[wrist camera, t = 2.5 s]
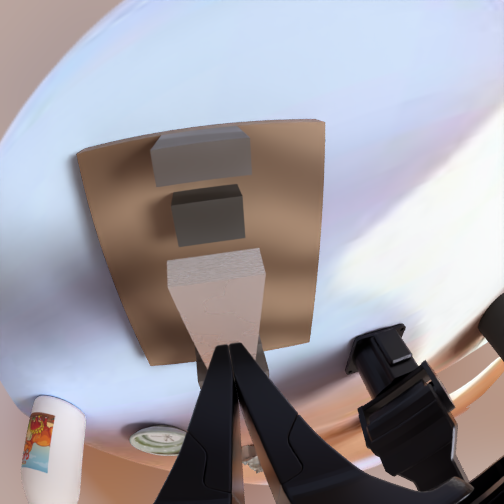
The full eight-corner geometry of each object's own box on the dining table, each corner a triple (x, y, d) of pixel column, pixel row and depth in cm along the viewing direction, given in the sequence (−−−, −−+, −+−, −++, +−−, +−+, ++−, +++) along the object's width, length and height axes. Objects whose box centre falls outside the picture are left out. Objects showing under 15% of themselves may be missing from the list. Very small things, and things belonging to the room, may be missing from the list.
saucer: (118, 418, 30) (117, 434, 28) (188, 414, 31) (190, 430, 29) (145, 444, 36) (145, 457, 34) (205, 440, 37) (207, 454, 35)
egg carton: (250, 455, 44) (254, 474, 40) (232, 446, 40) (236, 467, 36) (306, 438, 43) (312, 457, 40) (295, 427, 39) (301, 449, 36)
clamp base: (304, 330, 26) (324, 377, 21) (151, 352, 24) (148, 404, 20) (315, 119, 16) (360, 134, 12) (85, 148, 15) (45, 175, 10)
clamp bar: (250, 364, 22) (253, 380, 22) (213, 369, 22) (215, 386, 21) (257, 243, 10) (266, 279, 9) (166, 255, 9) (167, 293, 8)
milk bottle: (80, 400, 27) (71, 552, 10) (91, 426, 31) (89, 552, 14) (27, 388, 25) (5, 528, 8) (44, 415, 29) (32, 535, 12)
